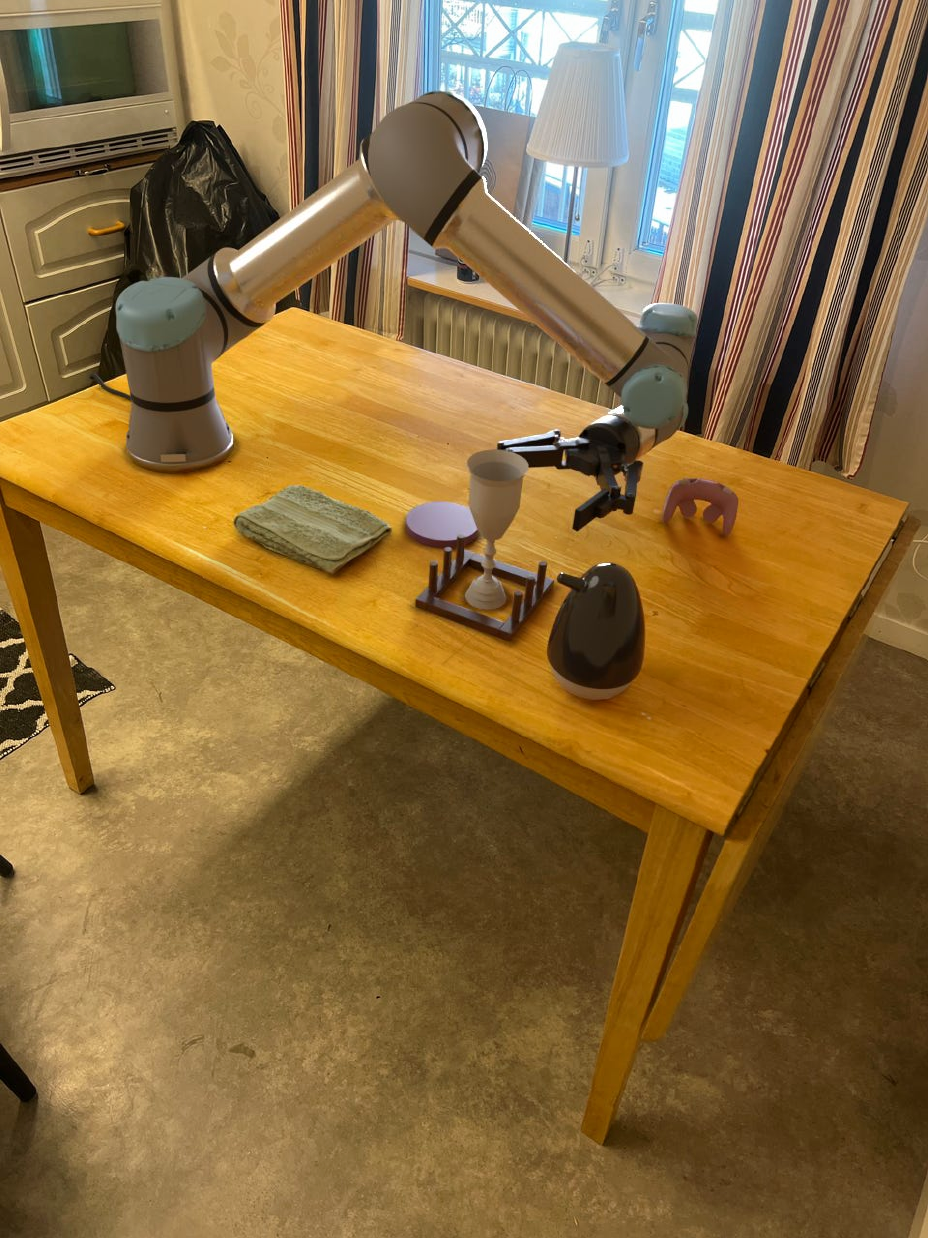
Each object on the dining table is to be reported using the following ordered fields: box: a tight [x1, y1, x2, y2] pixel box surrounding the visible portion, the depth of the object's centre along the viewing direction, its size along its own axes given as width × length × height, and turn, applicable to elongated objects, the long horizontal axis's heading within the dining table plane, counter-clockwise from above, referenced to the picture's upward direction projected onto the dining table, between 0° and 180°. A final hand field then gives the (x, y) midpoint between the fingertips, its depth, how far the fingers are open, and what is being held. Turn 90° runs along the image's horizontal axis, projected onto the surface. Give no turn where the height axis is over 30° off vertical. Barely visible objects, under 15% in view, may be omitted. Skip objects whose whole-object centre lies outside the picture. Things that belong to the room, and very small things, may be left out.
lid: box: [405, 500, 480, 549], centre depth 120 cm, size 10×10×1 cm
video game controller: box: [662, 477, 739, 537], centre depth 124 cm, size 10×5×7 cm, turn 71°
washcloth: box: [232, 484, 393, 575], centre depth 115 cm, size 13×18×3 cm
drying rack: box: [414, 534, 555, 643], centre depth 107 cm, size 13×13×5 cm
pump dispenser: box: [546, 562, 646, 701], centre depth 92 cm, size 10×10×15 cm
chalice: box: [464, 449, 529, 611], centre depth 103 cm, size 7×7×18 cm
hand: (527, 500), depth 106 cm, fingers open, 13 cm apart
